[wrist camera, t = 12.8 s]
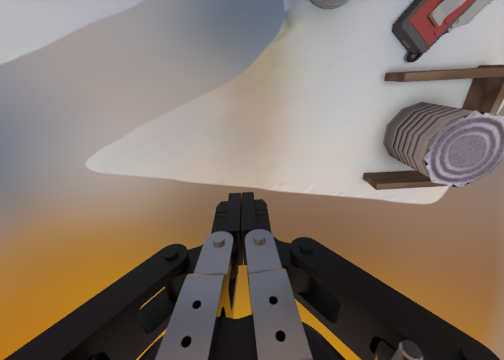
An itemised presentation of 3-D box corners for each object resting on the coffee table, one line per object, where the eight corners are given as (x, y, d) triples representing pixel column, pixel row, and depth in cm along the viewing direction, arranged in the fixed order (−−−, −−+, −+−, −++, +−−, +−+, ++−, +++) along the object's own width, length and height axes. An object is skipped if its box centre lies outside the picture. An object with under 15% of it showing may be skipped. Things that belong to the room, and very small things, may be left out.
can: (394, 169, 45) (441, 199, 34) (373, 127, 41) (419, 147, 30) (449, 136, 42) (519, 158, 31) (432, 88, 38) (507, 94, 27)
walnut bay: (386, 70, 36) (406, 70, 32) (486, 65, 36) (519, 64, 32) (362, 180, 46) (375, 191, 41) (441, 175, 46) (462, 186, 41)
